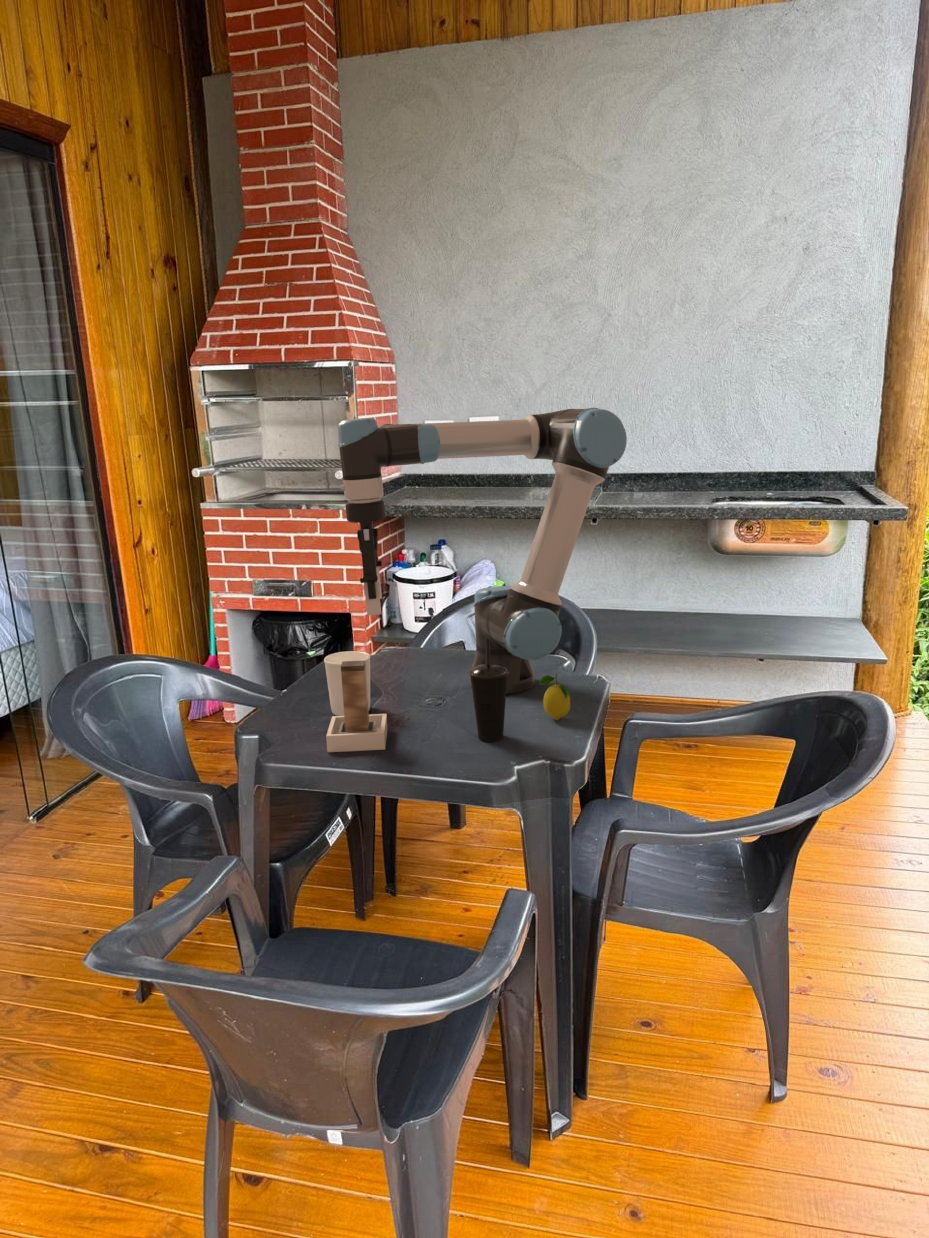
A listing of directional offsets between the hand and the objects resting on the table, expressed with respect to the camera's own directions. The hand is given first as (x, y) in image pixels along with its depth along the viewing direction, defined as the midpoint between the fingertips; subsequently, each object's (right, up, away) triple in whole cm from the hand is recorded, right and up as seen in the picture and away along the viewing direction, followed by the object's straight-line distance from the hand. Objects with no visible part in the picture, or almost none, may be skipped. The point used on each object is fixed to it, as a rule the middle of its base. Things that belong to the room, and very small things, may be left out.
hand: (374, 606), depth 177 cm
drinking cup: (+23, -26, -3) cm, 35 cm away
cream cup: (-7, -23, +15) cm, 28 cm away
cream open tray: (-3, -26, -2) cm, 27 cm away
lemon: (+37, -23, +5) cm, 44 cm away
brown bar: (-3, -26, -3) cm, 26 cm away
